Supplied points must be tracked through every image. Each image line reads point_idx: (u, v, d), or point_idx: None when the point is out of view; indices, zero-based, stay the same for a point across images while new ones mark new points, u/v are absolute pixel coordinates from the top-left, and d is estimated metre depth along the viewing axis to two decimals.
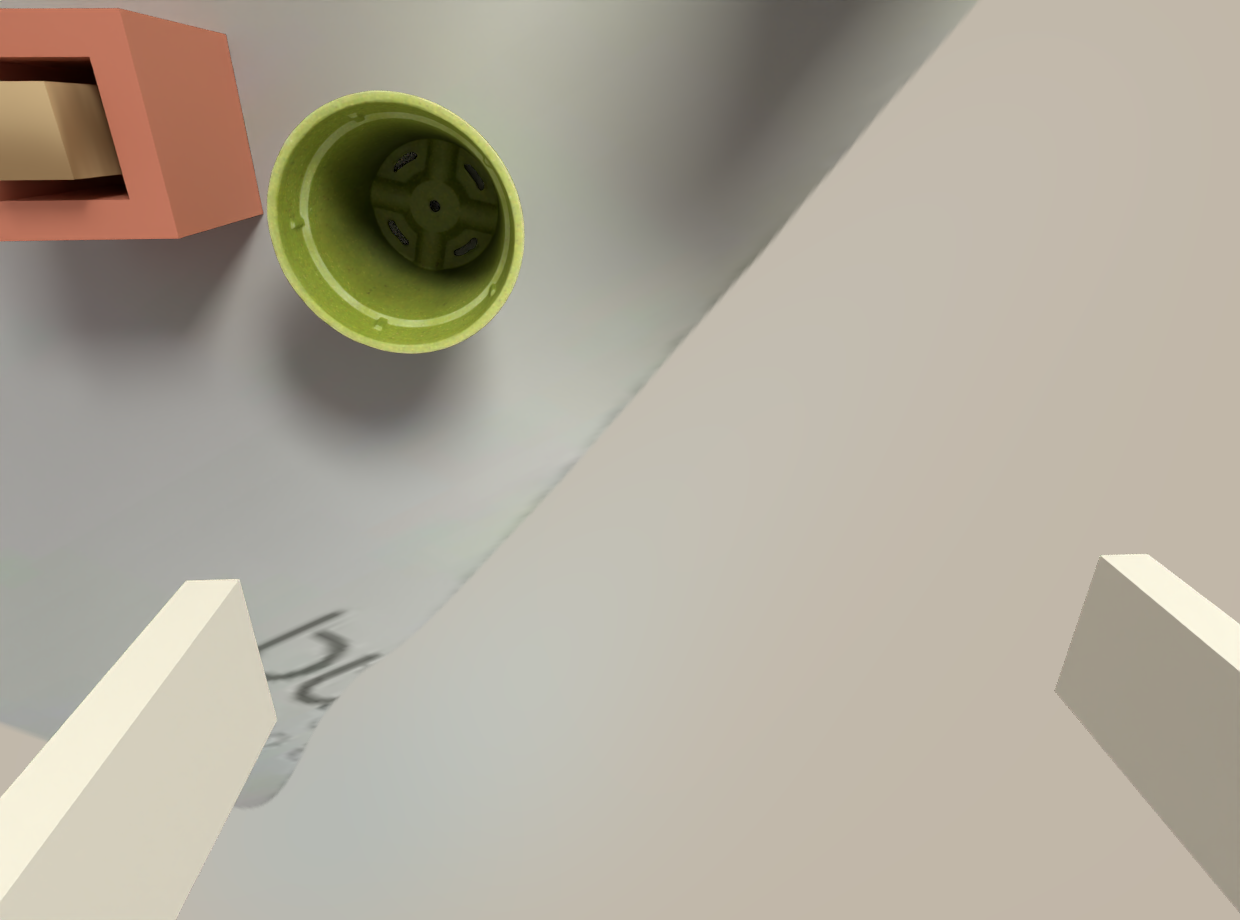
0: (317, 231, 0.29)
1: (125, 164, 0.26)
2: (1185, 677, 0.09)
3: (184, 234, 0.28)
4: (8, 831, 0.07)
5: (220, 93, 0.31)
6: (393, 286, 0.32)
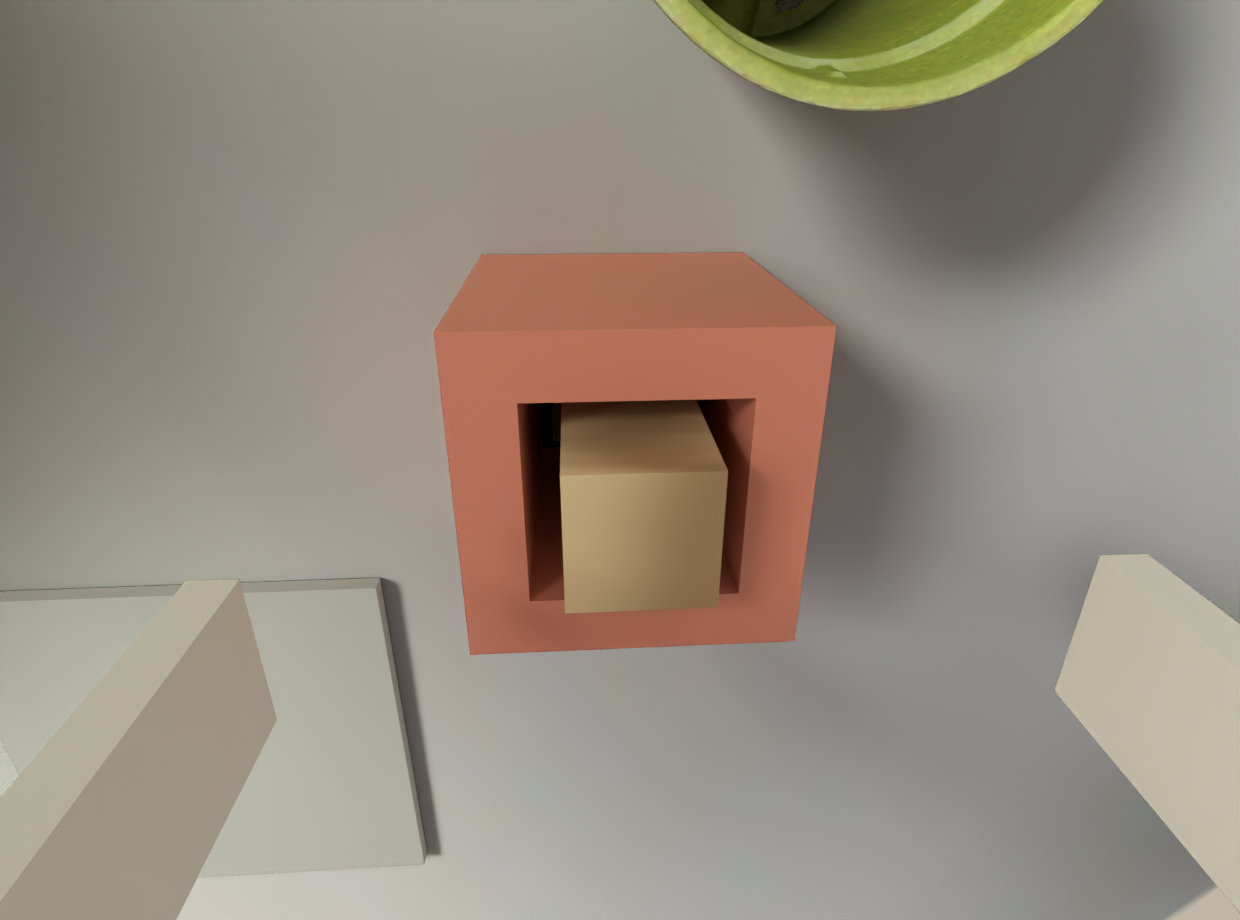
0: None
1: (695, 390, 0.14)
2: (1185, 677, 0.09)
3: (824, 319, 0.14)
4: (8, 831, 0.07)
5: (565, 265, 0.19)
6: None
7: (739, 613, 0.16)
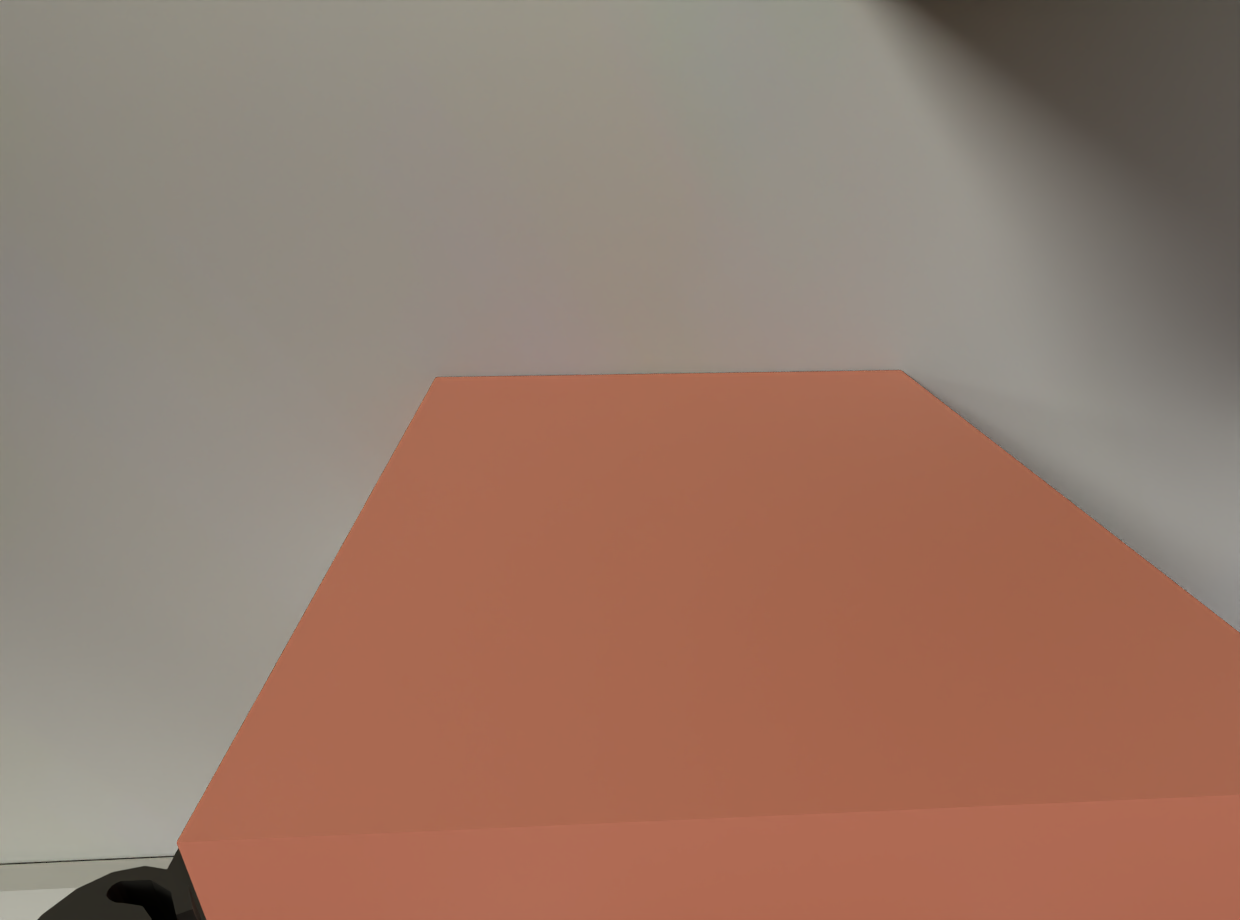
0: None
1: None
2: None
3: None
4: None
5: (586, 417, 0.10)
6: None
7: None
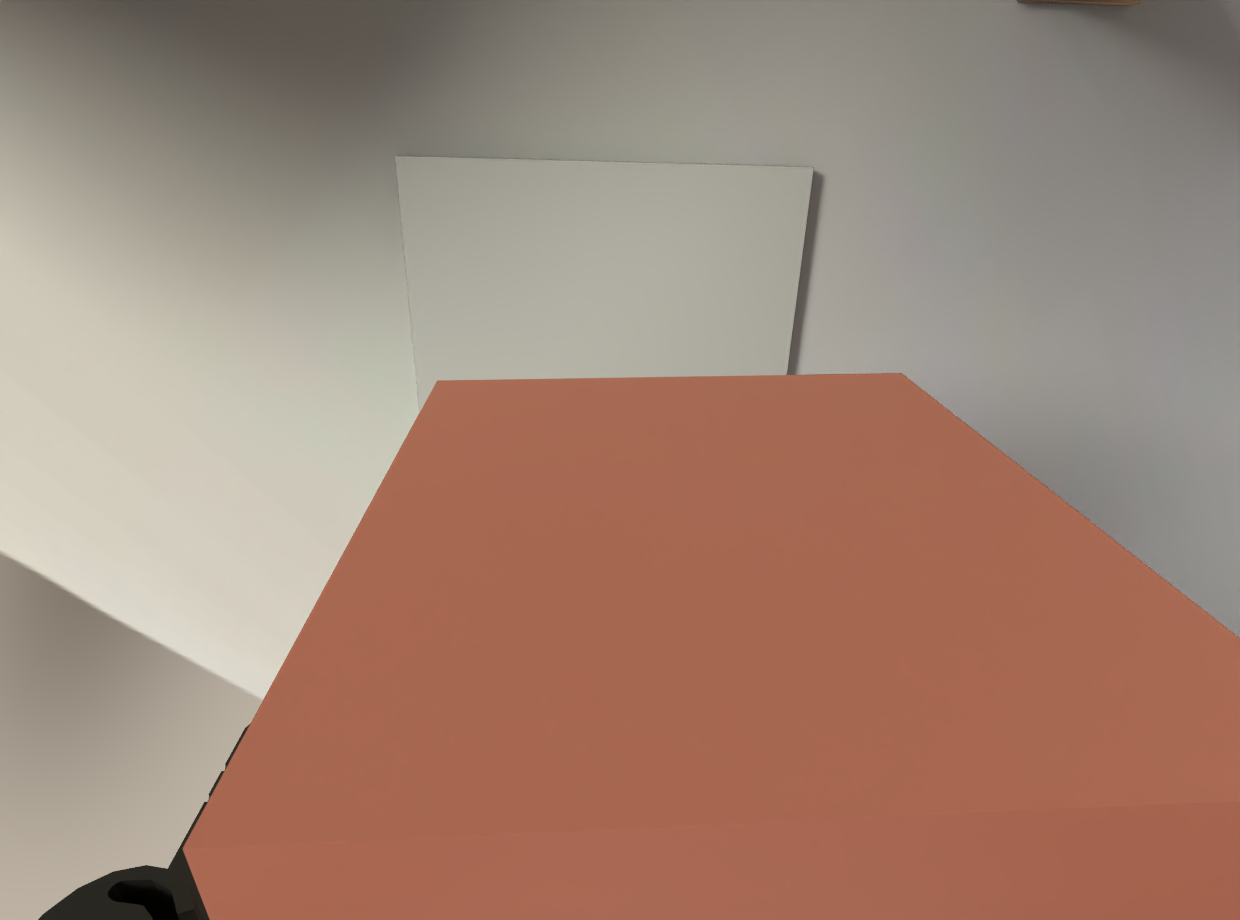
0: None
1: None
2: None
3: None
4: None
5: (588, 420, 0.10)
6: None
7: None
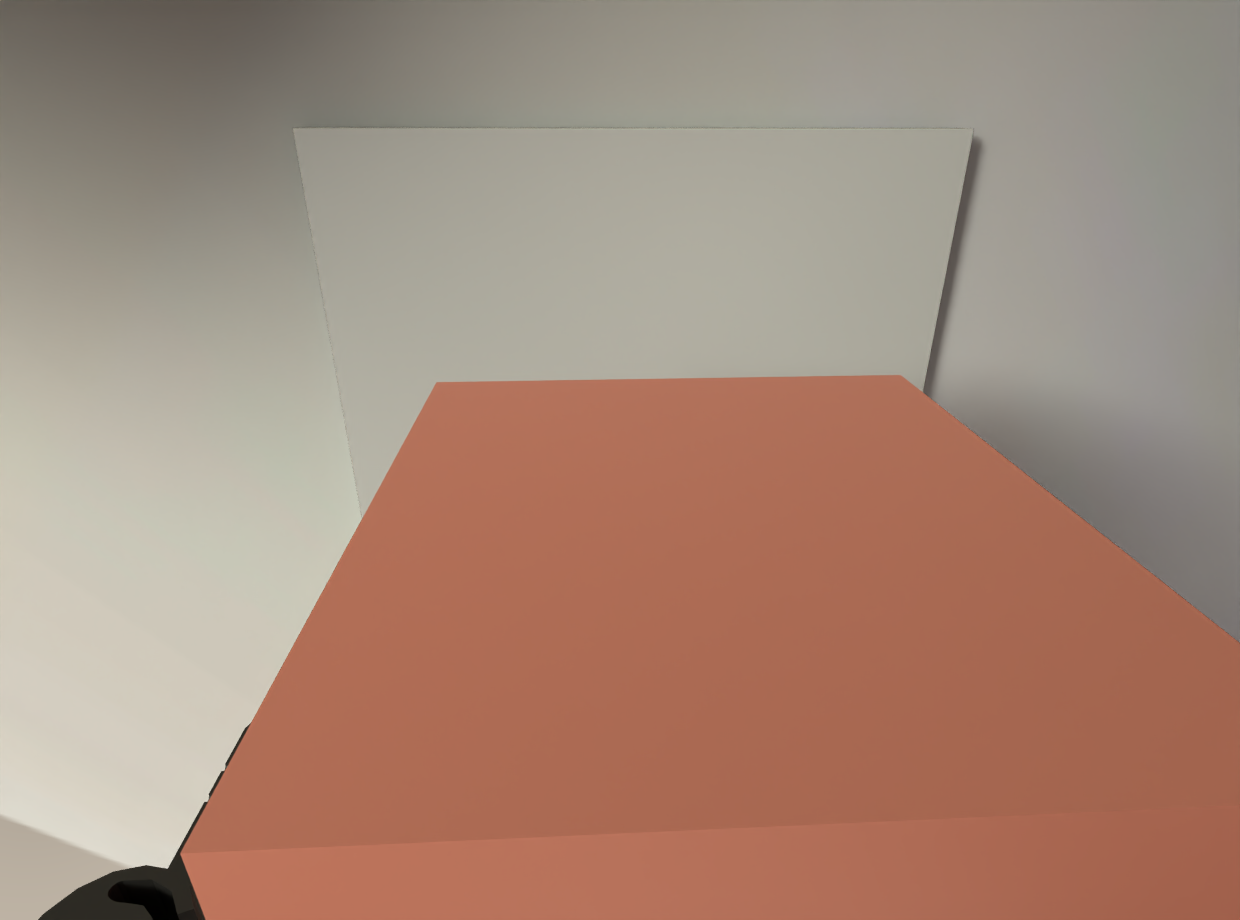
0: None
1: None
2: None
3: None
4: None
5: (587, 422, 0.10)
6: None
7: None
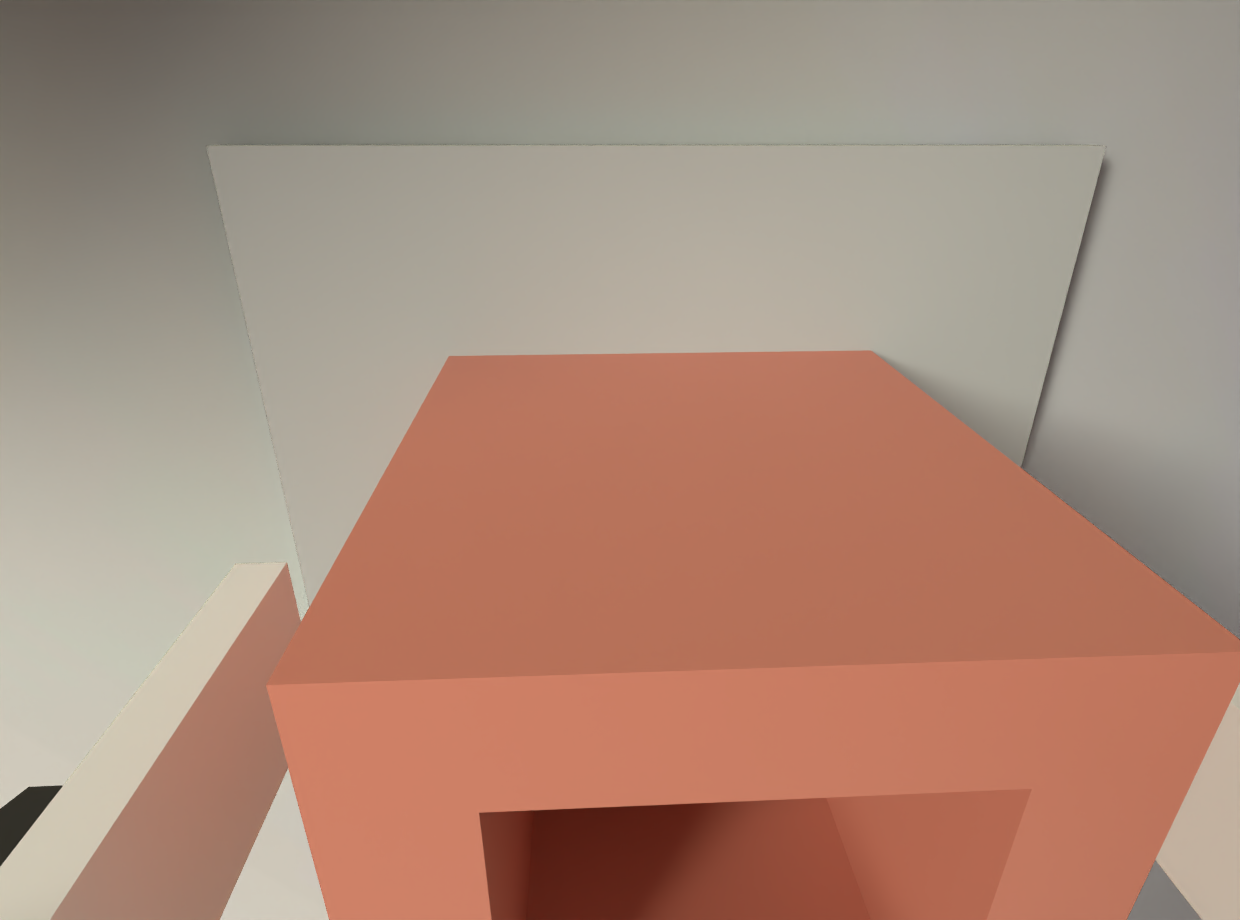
0: None
1: (895, 777, 0.06)
2: None
3: (1196, 614, 0.06)
4: (93, 791, 0.07)
5: (585, 388, 0.11)
6: None
7: None
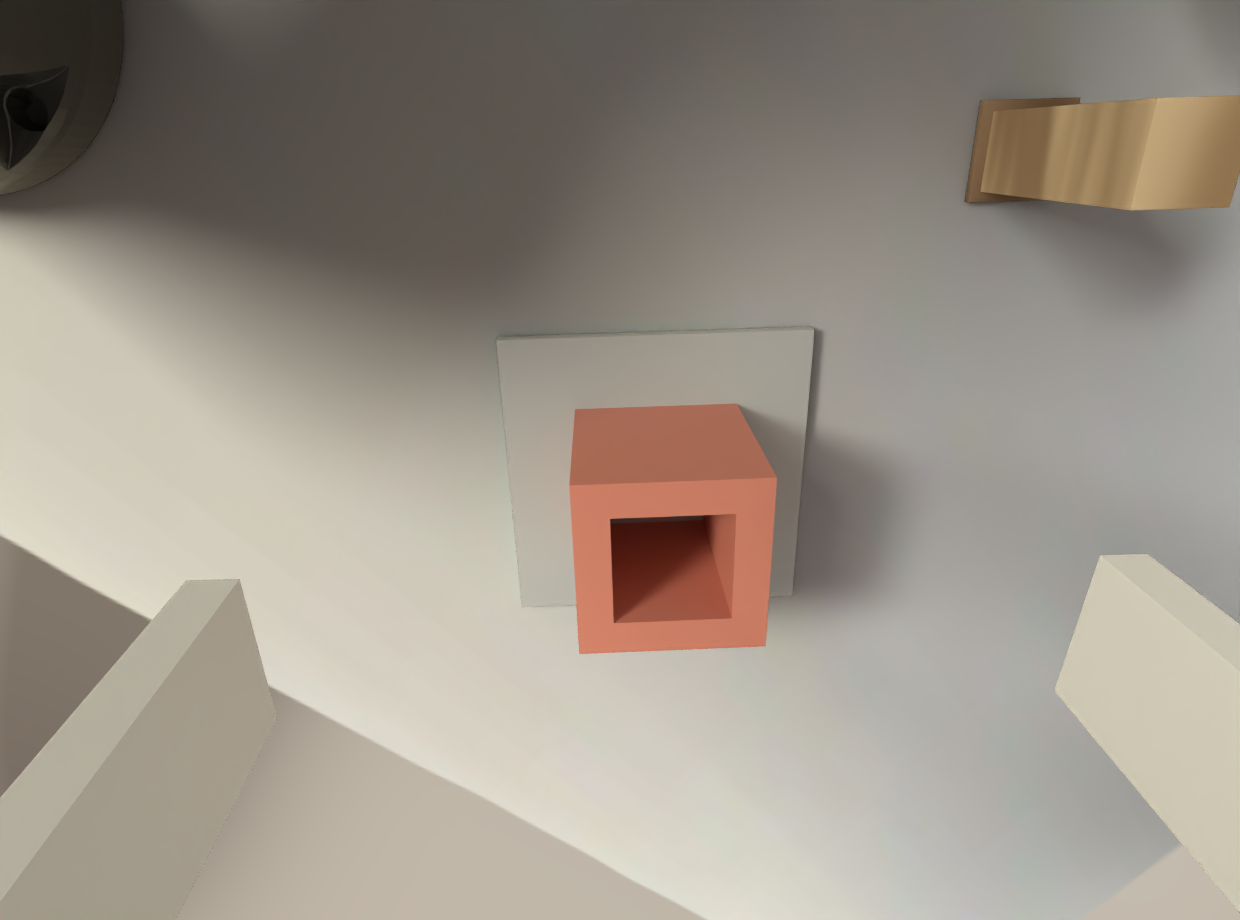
0: None
1: (703, 510, 0.26)
2: (1184, 678, 0.09)
3: (771, 472, 0.26)
4: (8, 831, 0.07)
5: (627, 421, 0.31)
6: None
7: (732, 630, 0.28)
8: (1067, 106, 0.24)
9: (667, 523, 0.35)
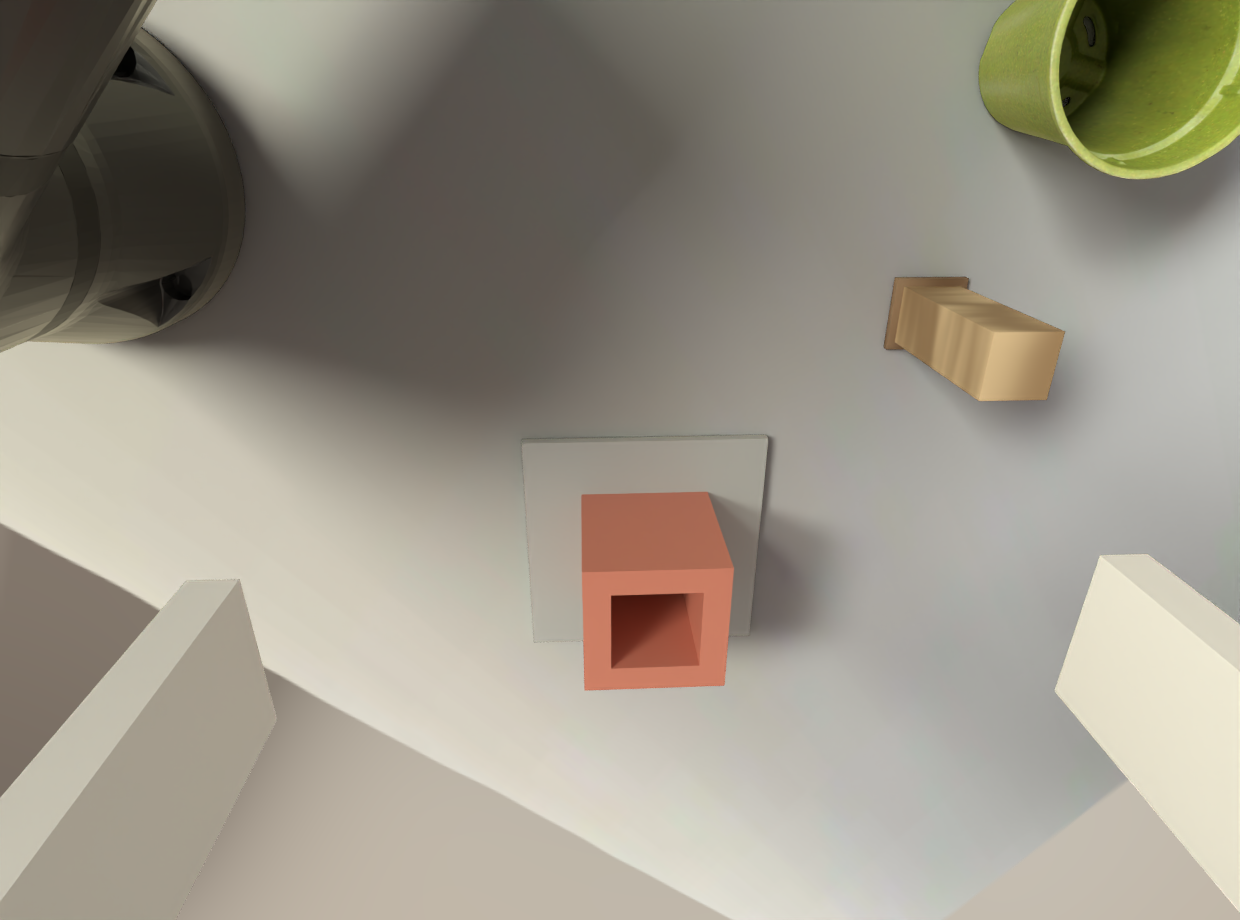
0: (1109, 152, 0.30)
1: (679, 590, 0.35)
2: (1185, 677, 0.09)
3: (730, 562, 0.35)
4: (8, 832, 0.07)
5: (623, 508, 0.40)
6: (1148, 97, 0.31)
7: (699, 673, 0.38)
8: (946, 309, 0.33)
9: None
